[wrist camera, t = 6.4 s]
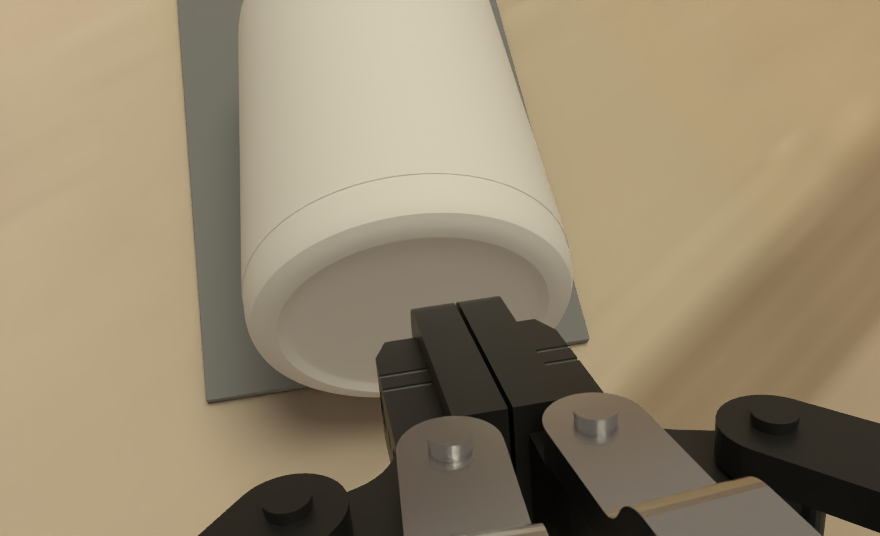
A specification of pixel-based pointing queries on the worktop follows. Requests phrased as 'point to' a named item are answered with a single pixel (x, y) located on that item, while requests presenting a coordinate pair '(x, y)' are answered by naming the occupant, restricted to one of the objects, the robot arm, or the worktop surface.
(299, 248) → the pill bottle
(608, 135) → the worktop surface
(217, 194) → the mat
